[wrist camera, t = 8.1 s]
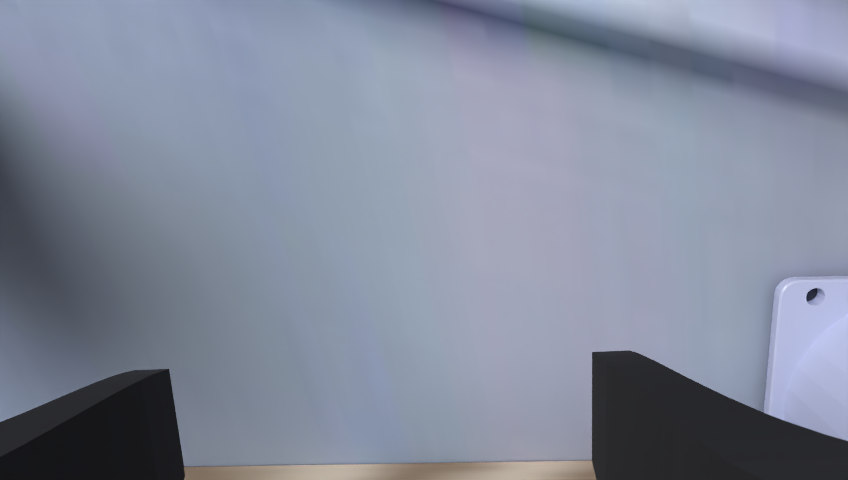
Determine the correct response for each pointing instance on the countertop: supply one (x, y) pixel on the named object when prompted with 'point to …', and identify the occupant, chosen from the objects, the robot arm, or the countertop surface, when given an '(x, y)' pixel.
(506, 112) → the countertop surface
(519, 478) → the socket board
